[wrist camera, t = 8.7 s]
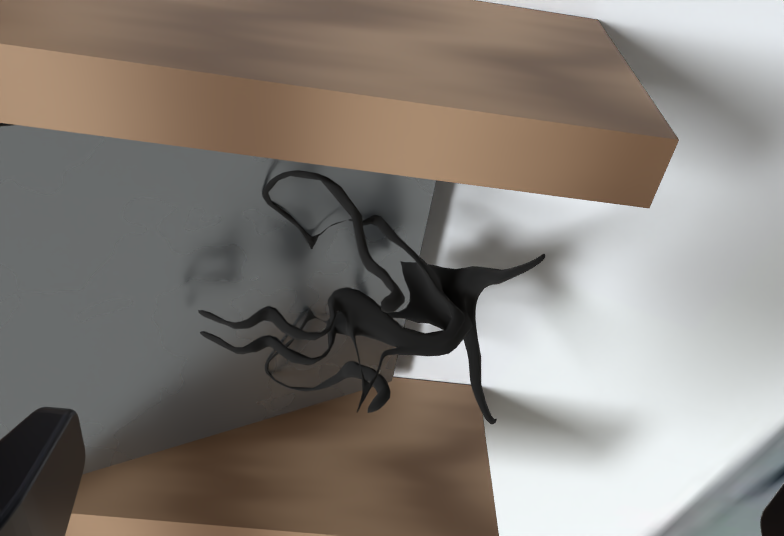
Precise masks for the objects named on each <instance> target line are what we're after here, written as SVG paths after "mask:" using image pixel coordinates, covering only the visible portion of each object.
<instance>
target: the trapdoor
mask: <svg viewBox="0 0 784 536" xmlns="http://www.w3.org/2000/svg"><path fill="white" fill-rule="evenodd" d="M294 170H301V171H307V172H313V173H318V174H321V175H323V176H326V177H328V178H330V179H331V180H333V181H334V182H335V183H337V184H338V185H340V186H341V187H342V188H343V190H344V191H345V192H346V194H347V195H348V197H349V198H350V199H351V201H352V202H353V203H354V205H355V206H356V208H357V209H358V210H359V212H360V213H361V214H362V217H363V220H365V219H366V218H369V217H371V216H373V215H378V216H381V217H382V218H383V219H384V220H385V221H386V222H387V223H388V224H389V225H390V227H391V228H392V229H393V230H394V231H395V233H396V234H397V235H398V236H399V237H400V238H401V239H402V240H403V241H404V242H405V243H406V244H407V245H408V246H409V247H410V248H411V249H412V250H413V251H415V252H416V254H417V255H418V256H420V252H421V247H422V242H423V238H424V233H425V229H426V224H427V220H428V215H429V211H430V206H431V202H432V197H433V193H434V188H435V183H436V180H431V179H423V178H415V177H408V176H400V175H393V174H385V173H378V172H370V171H362V170H355V169H347V168H340V167H332V166H324V165H317V164H309V163H302V162H294V161H287V160H279V159H271V158H264V157H256V156H249V155H241V154H234V153H226V152H218V151H211V150H203V149H196V148H188V147H180V146H173V145H165V144H158V143H150V142H143V141H135V140H127V139H120V138H112V137H105V136H97V135H90V134H82V133H74V132H67V131H59V130H52V129H44V128H36V127H29V126H21V125H14V124H6V123H0V439H2V438H3V437H4V436H5V435H6V434H8V433H9V432H10V431H11V430H12V429H13V428H15V427H16V426H17V425H18V424H19V423H21V422H22V421H23V420H24V419H25V418H26V417H28V416H29V415H30V414H31V413H32V412H34V411H35V410H37V409H39V408H41V407H57V408H68V409H73V410H74V411H76V413H77V414H78V417H79V421H80V427H81V432H82V437H83V442H84V447H85V454H86V458H85V466H84V471H83V474H86V473H89V472H92V471H96V470H99V469H102V468H106V467H109V466H112V465H116V464H119V463H122V462H126V461H129V460H132V459H136V458H139V457H142V456H146V455H149V454H152V453H156V452H159V451H162V450H165V449H169V448H172V447H175V446H179V445H182V444H185V443H189V442H192V441H195V440H199V439H202V438H205V437H209V436H212V435H215V434H219V433H222V432H225V431H229V430H232V429H235V428H239V427H242V426H245V425H249V424H252V423H255V422H258V421H262V420H265V419H268V418H272V417H275V416H278V415H282V414H285V413H288V412H292V411H295V410H298V409H302V408H305V407H308V406H312V405H315V404H318V403H322V402H325V401H328V400H332V399H335V398H338V397H342V396H345V395H348V394H351V393H355V392H358V391H361V390H362V379H358V378H353V377H350V378H346V379H344V380H342V381H340V382H339V383H337V384H334V385H332V386H330V387H327V388H324V389H321V390H315V391H298V390H294V389H290V388H287V387H285V386H282V385H280V384H279V383H277V382H275V381H274V380H273V379H272V378H271V377H270V376H268V375H267V374H266V372H265V364H266V362H267V360H268V359H269V358H270V357H271V356H272V355H273V354H274V353H276V352H277V351H276V350H274V349H273V348H271V347H270V346H269V347H266V348H264V349H262V350H260V351H258V352H252V353H247V354H236V353H234V352H232V351H230V350H228V349H226V348H224V347H222V346H220V345H218V344H216V343H215V342H213V341H211V340H209V339H207V338H205V337H204V336H202V335H201V334H200V332H201V331H205V332H208V333H211V334H213V335H215V336H217V337H220V338H221V339H223V340H224V341H225V342H227V343H229V344H231V345H232V346H234V347H244V346H246V345H248V344H249V343H251V342H252V341H254V340H256V339H257V338H259V337H262V336H267V335H271V336H274V337H277V338H278V339H279V340H280V341H281V342H282V343H283V344H284V345H285V344H286V343H287V342H288V341H290V340H291V339H292V337H290V336H288V335H287V334H285V333H283V332H281V331H280V330H279V329H278V328H277V327H276V326H275V325H274V324H273V323H272V322H269V321H262V322H260V323H258V324H257V325H255V326H253V327H251V328H247V329H233V328H231V327H229V326H227V325H224V324H221V323H218V322H215V321H213V320H211V319H208V318H206V317H204V316H202V315H201V314H199V312H198V310H204V311H208V312H211V313H213V314H215V315H217V316H219V317H220V318H222V319H224V320H226V321H230V322H240V321H244V320H246V319H248V318H250V317H251V316H252V315H253V314H255V313H256V312H257V311H259V310H260V309H262V308H264V307H267V306H271V307H274V308H276V309H277V310H278V311H279V312H280V313H281V314H282V316H283V317H284V318H285V320H286V321H287V322H288V323H290V324H292V325H294V326H296V327H298V328H300V327H301V325H302V323H303V321H304V320H305V317H306V315H307V312H308V310H309V308H310V309H311V311H312V312H313V314H314V316H316V317H317V318H319V319H320V320H319V319H317V318H314V319H312V320H309V321H308V322H307V323H306V325H305V326H304V328H303V329H302V330H303V331H305V332H322V331H323V330H324V329H325V328H326V322H324V321H327V320H328V319H329V318H330V313H329V307H328V299H329V297H330V296H331V294H332V293H333V292H334V291H335V290H337V289H340V288H346V287H349V288H353V289H356V290H359V291H361V292H363V293H364V294H366V295H367V296H369V297H370V298H372V299H373V300H374V301H375V302H376V303H377V304H379V305H380V306H381V301H382V300H383V299H384V298H385V297H386V296H388V295H389V294H390V293H391V291H390V290H389V289H388V288H387V287H386V286H385V284H384V283H383V282H382V280H381V279H380V278H378V277H377V276H375V275H374V274H372V273H371V272H369V271H368V270H367V269H366V268H365V266H364V265H363V263H362V260H361V258H360V256H359V252H358V248H357V244H356V238H355V233H354V227H353V222H352V221H349V219H352V217H351V216H350V215H349V214H348V212H347V211H346V210H345V209H344V208H343V206H342V205H341V204H340V203H339V202H338V201H337V199H336V198H335V197H334V196H333V195H332V193H331V192H330V191H329V190H328V189H327V188H326V186H325V185H324V184H323V183H322V182H321V181H320V180H314V179H307V178H300V177H293V176H289V177H286V178H284V179H281V180H279V181H278V182H277V183H276V184H275V185H274V187H273V188H272V189H271V190H270V191H269V196H270V198H271V201H272V202H273V203H274V204H276V205H277V206H279V207H280V208H281V209H283V210H284V211H286V212H287V213H288V214H290V215H291V216H292V217H293V218H294V219H295V220H296V221H297V223H298V224H299V225H300V226H301V227H302V228H303V229H304V230H305V231H306V232H307V233H308V234H309V235H311V236H315V235H318V234H320V233H321V232H323V231H324V230H325V229H326V228H327V229H326V230H325V231H324V233H322V234H321V235H320V236H319V237H318V239H317V241H316V243H315V245H314V246H313V249H310V246H309V243H308V241H307V240H306V238H305V237H304V236H303V234H302V233H301V231H300V230H299V229H298V228H297V227H296V226H295V225H294V224H292V223H291V222H290V221H289V220H287V219H286V218H285V217H284V216H282V215H281V214H280V213H278V212H277V211H276V210H274V209H273V208H272V207H270V206H269V205H268V204H267V203H266V201H265V200H264V198H263V190H264V187H265V186H266V184H267V183H268V182H269V181H270V180H271V179H272V178H274V177H275V176H277V175H279V174H281V173H283V172H288V171H294ZM345 220H346V221H345ZM341 221H343V222H341ZM337 222H341V223H338V224H335V223H337ZM332 224H335V225H333V226H330V225H332ZM329 226H330V227H329ZM363 230H364V233H365V237H366V242H367V247H368V250H369V253H370V255H371V257H372V258H373V260H374V261H375V262H376V263H377V264H378V265H379V266H381V267H382V268H384V269H385V270H386V271H387V272H388V274H389V275H390V277H391V278H392V279H393V281H394V282H395V283H396V284H397V285H398V287H399V288H400V290H401V291H402V293H403V295H404V296H405V302H404V303H403V304H402V305H401V306H400V307H399V308H398V309H397V310H396V311H394V312H399V311H401V310H403V309H405V308H406V307H407V305H408V303H409V301H410V292H409V289H408V287H407V284H406V282H405V279H404V276H403V272H402V266H401V262H400V261H402V262H416V261H415V260H414V259H413V258H412V257H411V256H410V255H409V254H408V253H407V252H406V251H405V250H404V249H402V248H401V247H400V246H398V245H397V244H395V243H393V242H392V241H390V240H389V239H388V238H387V237H386V236H385V235H384V234H383V233H382V232H381V230H380V229H379V228H378V227H377V226H375V225H372V224H369V225H365V226H363ZM393 319H394V320H395V321H397V322H398V323H399V324H400V325H401V326H402V327H404V324H405V320H406V319H402V318H393ZM355 338H356V345H357V349H358V353H359V359H360V364H361V365H364V366H367V367H370V368H373V369H374V370H376V371H377V369H378V366H379V362H380V358H381V355H382V353H383V352H384V351H385V350H388V349H393V348H396V347H394V346H391V345H389V344H386V343H383V342H381V341H378V340H375V339H372V338H368V337H365V336H355ZM288 348H290V349H292V350H294V351H296V352H299V353H301V354H303V355H305V356H308V357H310V358H315V357H318V356H322V354H323V353H324V352H325V351H326V350H327V349H328V335H327V334H326V335H324V336H322V337H320V338H318V339H316V340H295V339H294V341H293V342H292V343H291V344H290V346H289V347H288ZM397 356H398V355H387V356H385V357H384V359H383V361H382V364H381V367H380V370H379V374H380V375H382V376H383V377H384V378H385V379H386V381H387V383H388V382H391V381H392V379H393V374H394V370H395V365H396V360H397ZM348 361H356V362H357V363H359V361H358V356H357V352H356V349H355V346H354V343H353V341H352V339H351V337H350V336H347V335H343V334H338V333H336V337H335V342H334V344H333V346H332V348H331V350H330V352H329V353H328V354H327V356H326V357H324V358H323V359H322V360H320V361H318V362H316V363H314V364H312V365H303V364H297V363H291V362H290V361H289V360H287V359H286V358H284V357H283V356H281V355H280V354H277V355H276V356H275V357H274V358H273V359H272V360H271V361H270V362H269V369H268V371H269V372H270V373H271V374H272V376H273V377H274V378H275V379H276V380H278V381H280V382H282V383H284V384H286V385H288V386H289V387H306V388H314V387H316V386H317V385H319V384H321V383H322V382H324V381H325V380H327V379H329V378H330V377H332V376H334V375H335V374H337V373H338V371H339V370H340V369H341V368H342V367H343V365H344V364H345V363H347V362H348ZM368 382H369V381H368ZM369 383H370V382H369ZM372 387H373V386H372Z"/></svg>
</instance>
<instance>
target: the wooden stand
mask: <svg viewBox="0 0 784 536" xmlns="http://www.w3.org/2000/svg"><path fill="white" fill-rule="evenodd" d="M0 123H6V124H14V125H21V126H29V127H36V128H44V129H52V130H59V131H67V132H74V133H82V134H90V135H97V136H105V137H112V138H120V139H127V140H135V141H143V142H150V143H158V144H165V145H173V146H180V147H188V148H196V149H203V150H211V151H218V152H226V153H234V154H241V155H249V156H256V157H264V158H271V159H279V160H287V161H294V162H302V163H309V164H317V165H324V166H332V167H340V168H347V169H355V170H362V171H370V172H378V173H385V174H393V175H400V176H408V177H415V178H423V179H431V180H438V181H446V182H453V183H461V184H468V185H476V186H484V187H491V188H499V189H506V190H514V191H522V192H529V193H537V194H544V195H552V196H559V197H567V198H575V199H582V200H590V201H597V202H605V203H612V204H620V205H628V206H635V207H643V208H650V205H651V203H652V201H653V199H654V196H655V194H656V192H657V189H658V187H659V185H660V182H661V180H662V178H663V176H664V173H665V171H666V169H667V166H668V164H669V162H670V160H671V157H672V155H673V153H674V150H675V148H676V146H677V143H678V141H679V139H678V138H677V136H676V135H675V133H674V132H673V130H672V129H671V127H670V126H669V124H668V123H667V121H666V120H665V118H664V117H663V116H662V114H661V113H660V111H659V110H658V108H657V107H656V105H655V104H654V102H653V101H652V99H651V98H650V96H649V95H648V93H647V92H646V90H645V89H644V87H643V86H642V84H641V83H640V81H639V80H638V79H637V77H636V76H635V74H634V73H633V71H632V70H631V68H630V67H629V65H628V64H627V62H626V61H625V59H624V58H623V56H622V55H621V53H620V52H619V50H618V49H617V47H616V46H615V44H614V43H613V42H612V40H611V39H610V37H609V36H608V34H607V33H606V31H605V30H604V28H603V27H602V25H601V24H600V22H599V21H598V20H596V19H590V18H583V17H577V16H571V15H564V14H558V13H552V12H545V11H539V10H532V9H526V8H520V7H513V6H507V5H501V4H494V3H488V2H482V1H475V0H0ZM388 385H389V388H390V392H391V393H390V399H389V400H388V401H387V402H386V403H385V405H384V406H382V407H381V408H380V409H379V410H377V411H375V412H371V413H368V407H369V405H370V403H371V402H372V400H373V399H374V397H375V396H376V395H377V391H376V390H375V388H374V387H371V389H370V391H369V393H368V394H367V396H366V398H365V400H364V401H363V403H362V404H361V407H360V409H359V411H358V412H357V409H358V406H359V402H360V400H361V395H362V390H361V391H358V392H355V393H351V394H348V395H345V396H342V397H338V398H335V399H332V400H328V401H325V402H322V403H318V404H315V405H312V406H308V407H305V408H302V409H298V410H295V411H292V412H288V413H285V414H282V415H278V416H275V417H272V418H268V419H265V420H262V421H258V422H255V423H252V424H249V425H245V426H242V427H239V428H235V429H232V430H229V431H225V432H222V433H219V434H215V435H212V436H209V437H205V438H202V439H199V440H195V441H192V442H189V443H185V444H182V445H179V446H175V447H172V448H169V449H165V450H162V451H159V452H156V453H152V454H149V455H146V456H142V457H139V458H136V459H132V460H129V461H126V462H122V463H119V464H116V465H112V466H109V467H106V468H102V469H99V470H96V471H92V472H89V473H86V474H82V478H81V481H80V485H79V488H78V492H77V496H76V499H75V503H74V506H73V510H72V513H71V517H70V520H69V524H68V527H67V531H66V534H65V536H499V533H498V526H497V518H496V511H495V503H494V496H493V489H492V481H491V474H490V466H489V459H488V452H487V444H486V437H485V429H484V422H483V414H482V412H481V410H480V408H479V406H478V403H477V401H476V399H475V396H474V393H473V390H472V387H471V385H463V384H453V383H444V382H434V381H424V380H415V379H405V378H396V377H393V379H392V381H391V382H388Z"/></svg>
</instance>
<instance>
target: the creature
mask: <svg viewBox="0 0 784 536" xmlns="http://www.w3.org/2000/svg"><path fill="white" fill-rule="evenodd" d="M289 176H293V177H300V178H307V179H314V180H320V181H321V182H322V183H323V184H324V185H325V186H326V188H327V189H328V190H329V191H330V192H331V193H332V195H333V196H334V197H335V198H336V199H337V201H338V202H339V203H340V204H341V205H342V206H343V208H344V209H345V210H346V211H347V212H348V214H349V215H350V216H351V217H352V219H349V221H352V222H353V227H354V233H355V238H356V244H357V248H358V252H359V256H360V258H361V260H362V263H363V265H364V266H365V268H366V269H367V270H368V271H369V272H371V273H372V274H374V275H375V276H377V277H378V278H380V279H381V280H382V282H383V283H384V284H385V286H386V287H387V288H388V289H389V290H390V291H391V293H390V294H389V295H388V296H386V297H385V298H384V299H383V300H382V301H381V306H380V305H379V304H377V303H376V302H375V301H374V300H373V299H372V298H370V297H369V296H367V295H366V294H364V293H363V292H361V291H359V290H356V289H353V288H349V287H346V288H340V289H337V290H335V291H334V292H333V293H332V294H331V296H330V297H329V299H328V307H329V313H330V318H329V319H328V320H327V321H324V322H326V328H325V329H324V330H323V331H322V332H305V331H303V330H302V329H303V328H304V326H305V325H306V323H307V322H308V321H309V320H312V319H314V318H317V317H316V316H314V314H313V312H312V311H311V309H310V308H309V310H308V312H307V315H306V317H305V320H304V321H303V323H302V325H301V327H300V328H298V327H296V326H294V325H292V324H290V323H288V322H287V321H286V320H285V318H284V317H283V316H282V314H281V313H280V312H279V311H278V310H277V309H276V308H274V307H271V306H267V307H264V308H262V309H260V310H259V311H257V312H256V313H255V314H253V315H252V316H251V317H250V318H248V319H246V320H244V321H240V322H230V321H226V320H224V319H222V318H220V317H219V316H217V315H215V314H213V313H211V312H208V311H204V310H198V312H199V314H201V315H202V316H204V317H206V318H208V319H211V320H213V321H215V322H218V323H221V324H224V325H227V326H229V327H231V328H233V329H247V328H251V327H253V326H255V325H257V324H258V323H260V322H262V321H269V322H272V323H273V324H274V325H275V326H276V327H277V328H278V329H279V330H280V331H281V332H283V333H285V334H287V335H288V336H290V337H292V339H291V340H290V341H288V342H287V343H286V344H285V345H284V344H283V343H282V342H281V341H280V340H279V339H278V338H277V337H274V336H271V335H267V336H262V337H259V338H257V339H256V340H254V341H252V342H251V343H249V344H248V345H246V346H244V347H234V346H232V345H231V344H229V343H227V342H225V341H224V340H223V339H221V338H220V337H217V336H215V335H213V334H211V333H208V332H205V331H201V332H200V334H201V335H202V336H204V337H205V338H207V339H209V340H211V341H213V342H215V343H216V344H218V345H220V346H222V347H224V348H226V349H228V350H230V351H232V352H234V353H236V354H247V353H252V352H258V351H260V350H262V349H264V348H266V347H269V346H270V347H271V348H273V349H274V350H276V351H277V352H276V353H274V354H273V355H272V356H271V357H270V358H269V359H268V360H267V362H266V364H265V372H266V374H267V375H268V376H270V377H271V378H272V379H273V380H274V381H275V382H277V383H279V384H280V385H282V386H285V387H287V388H290V389H294V390H298V391H315V390H321V389H324V388H327V387H330V386H332V385H334V384H337V383H339V382H340V381H342V380H344V379H346V378H350V377H353V378H358V379H362V395H361V400H360V402H359V406H358V409H357V412H358V411H359V409H360V407H361V404H362V403H363V401H364V400H365V398H366V396H367V394H368V393H369V391H370V389H371V387H372V386H373V387H374V388H375V390H376V391H377V395H376V396H375V397H374V399H373V400H372V402H371V403H370V405H369V407H368V413H371V412H375V411H377V410H379V409H380V408H381V407H382V406H384V405H385V403H386V402H387V401H388V400H389V399H390V393H391V392H390V388H389V385H388V383H387V381H386V379H385V378H384V377H383V376H382V375H380V374H379V370H380V367H381V364H382V361H383V359H384V357H385V356H387V355H419V356H440V355H444V354H449V353H450V352H452V351H453V350H454V349H455V348H457V346H458V345H459V344H460V342H461V341H462V340H463V339H464V343H465V346H466V350H467V354H468V359H469V371H470V381H471V387H472V390H473V393H474V396H475V399H476V401H477V403H478V406H479V408H480V410H481V412H482V414H483V415H484V417H485V419H486V420H487V421H488V422H489V423H490V424H494V423H495V422H496V420H497V419H494V418H493V417H492V416H491V414H490V411H489V409H488V406H487V404H486V401H485V397H484V393H483V390H482V386H481V354H480V348H479V343H478V337H477V329H476V321H475V310H476V303H477V300H478V297H479V295H480V293H481V292H482V291H483V290H484V288H486V287H488V286H489V285H493V284H500V283H502V282H504V281H507V280H509V279H511V278H513V277H515V276H518V275H520V274H522V273H524V272H526V271H528V270H530V269H532V268H533V267H535V266H536V265H538V264H539V263H540V262H542V261H543V259H544V258H545V254H543V255H541V256H540V257H538V258H536V259H535V260H533V261H530V262H528V263H526V264H523V265H520V266H517V267H514V268H511V269H505V270H499V269H491V268H483V267H474V266H472V267H467V268H461V269H450V268H443V267H439V266H435V265H428V264H427V263H426V262H425V261H424V260H423V259H421V258H420V257H419V256H418V255H417V254H416V252H415V251H413V250H412V249H411V248H410V247H409V246H408V245H407V244H406V243H405V242H404V241H403V240H402V239H401V238H400V237H399V236H398V235H397V234H396V233H395V231H394V230H393V229H392V228H391V227H390V225H389V224H388V223H387V222H386V221H385V220H384V219H383V218H382V217H381V216H378V215H373V216H371V217H369V218H366V219H365V220H363V217H362V214H361V213H360V212H359V210H358V209H357V208H356V206H355V205H354V203H353V202H352V201H351V199H350V198H349V197H348V195H347V194H346V192H345V191H344V190H343V188H342V187H341V186H340V185H338V184H337V183H335V182H334V181H333V180H331V179H330V178H328V177H326V176H323V175H321V174H318V173H313V172H307V171H301V170H294V171H288V172H283V173H281V174H279V175H277V176H275V177H274V178H272V179H271V180H270V181H269V182H268V183H267V184H266V186H265V187H264V190H263V198H264V200H265V201H266V203H267V204H268V205H269V206H270V207H272V208H273V209H274V210H276V211H277V212H278V213H280V214H281V215H282V216H284V217H285V218H286V219H287V220H289V221H290V222H291V223H292V224H294V225H295V226H296V227H297V228H298V229H299V230H300V231H301V233H302V234H303V236H304V237H305V238H306V240H307V241H308V243H309V246H310V249H313V246H314V245H315V243H316V241H317V239H318V237H319V236H320V235H321V234H322V233H324V231H325V230H326V229H327V228H326V229H325V230H324V231H323V232H321V233H320V234H318V235H315V236H311V235H309V234H308V233H307V232H306V231H305V230H304V229H303V228H302V227H301V226H300V225H299V224H298V223H297V221H296V220H295V219H294V218H293V217H292V216H291V215H290V214H288V213H287V212H286V211H284V210H283V209H281V208H280V207H279V206H277V205H276V204H274V203H273V202H272V201H271V198H270V196H269V191H270V190H271V189H272V188H273V187H274V185H275V184H276V183H277V182H278V181H279V180H281V179H284V178H286V177H289ZM345 221H346V220H345ZM341 222H343V221H341ZM341 222H337V223H335V224H338V223H341ZM335 224H332V225H330V226H333V225H335ZM369 224H372V225H375V226H377V227H378V228H379V229H380V230H381V232H382V233H383V234H384V235H385V236H386V237H387V238H388V239H389V240H390V241H392V242H393V243H395V244H397V245H398V246H400V247H401V248H402V249H404V250H405V251H406V252H407V253H408V254H409V255H410V256H411V257H412V258H413V259H414V260H415V261H416V262H402V261H400V262H401V266H402V272H403V276H404V279H405V282H406V284H407V287H408V289H409V292H410V302H409V303H408V305H407V307H406V308H405V309H403V310H401V311H399V312H394V311H396V310H397V309H398V308H399V307H400V306H401V305H402V304H403V303H404V302H405V296H404V295H403V293H402V291H401V290H400V288H399V287H398V285H397V284H396V283H395V282H394V281H393V279H392V278H391V277H390V275H389V274H388V272H387V271H386V270H385V269H384V268H382V267H381V266H379V265H378V264H377V263H376V262H375V261H374V260H373V258H372V257H371V255H370V253H369V250H368V247H367V242H366V237H365V233H364V230H363V226H365V225H369ZM330 226H329V227H330ZM393 318H402V319H408V320H411V321H414V322H417V323H430V324H432V325H434V326H436V327H438V328H441V329H443V330H442V331H437V332H431V333H422V332H418V331H415V330H411V329H407V328H404V327H402V326H401V325H400V324H399V323H398V322H397V321H395V320H394V319H393ZM317 319H319V318H317ZM319 320H320V319H319ZM336 333H338V334H343V335H347V336H350V337H351V339H352V341H353V343H354V346H355V349H356V352H357V356H358V361H359V363H357V362H356V361H348V362H347V363H345V364H344V365H343V367H342V368H341V369H340V370H339V371H338V373H337V374H335V375H334V376H332V377H330V378H329V379H327V380H325V381H324V382H322V383H321V384H319V385H317V386H316V387H314V388H306V387H289V386H288V385H286V384H284V383H282V382H280V381H278V380H276V379H275V378H274V377H273V376H272V374H271V373H270V372H269V371H268V369H269V362H270V361H271V360H272V359H273V358H274V357H275V356H276V355H277V354H280V355H281V356H283V357H284V358H286V359H287V360H289V361H290V362H291V363H297V364H303V365H312V364H314V363H316V362H318V361H320V360H322V359H323V358H324V357H326V356H327V354H328V353H329V352H330V350H331V348H332V346H333V344H334V342H335V337H336ZM326 334H327V335H328V349H327V350H326V351H325V352H324V353H323V354H322V356H318V357H315V358H310V357H308V356H305V355H303V354H301V353H299V352H296V351H294V350H292V349H290V348H288V347H289V346H290V344H291V343H292V342H293V341H294V339H295V340H316V339H318V338H320V337H322V336H324V335H326ZM355 336H365V337H368V338H372V339H375V340H378V341H381V342H383V343H386V344H389V345H391V346H394V347H396V348H393V349H388V350H385V351H384V352H383V353H382V355H381V358H380V362H379V366H378V369H377V371H376V370H374V369H373V368H370V367H367V366H364V365H361V364H360V359H359V353H358V349H357V345H356V338H355ZM368 381H369V382H370V383H369V382H368Z"/></svg>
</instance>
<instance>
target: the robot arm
mask: <svg viewBox="0 0 784 536" xmlns="http://www.w3.org/2000/svg"><path fill="white" fill-rule="evenodd" d="M85 458H86V454H85V447H84V442H83V437H82V432H81V427H80V421H79V417H78V414H77V413H76V411H74V410H73V409H68V408H57V407H41V408H39V409H37V410H35V411H34V412H32V413H31V414H30V415H29V416H28V417H26V418H25V419H24V420H23V421H22V422H21V423H19V424H18V425H17V426H16V427H15V428H13V429H12V430H11V431H10V432H9V433H8V434H6V435H5V436H4V437H3V438H2V439H0V536H65V534H66V531H67V527H68V524H69V520H70V517H71V513H72V510H73V506H74V503H75V499H76V496H77V492H78V488H79V485H80V481H81V478H82V474H83V471H84V466H85ZM760 526H761V534H762V536H784V483H783V485H782V486H781V487H780V489H779V490H778V491H777V493H776V494H775V495H774V497H773V498H772V499H771V501H770V502H769V503H768V505H767V506H766V507H765V508H764V510H763V512H762V515H761V521H760Z"/></svg>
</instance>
